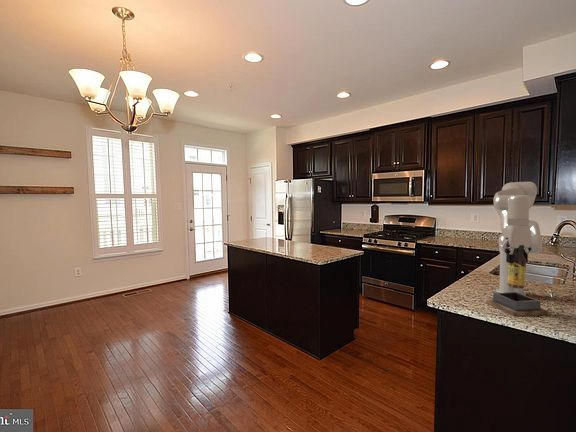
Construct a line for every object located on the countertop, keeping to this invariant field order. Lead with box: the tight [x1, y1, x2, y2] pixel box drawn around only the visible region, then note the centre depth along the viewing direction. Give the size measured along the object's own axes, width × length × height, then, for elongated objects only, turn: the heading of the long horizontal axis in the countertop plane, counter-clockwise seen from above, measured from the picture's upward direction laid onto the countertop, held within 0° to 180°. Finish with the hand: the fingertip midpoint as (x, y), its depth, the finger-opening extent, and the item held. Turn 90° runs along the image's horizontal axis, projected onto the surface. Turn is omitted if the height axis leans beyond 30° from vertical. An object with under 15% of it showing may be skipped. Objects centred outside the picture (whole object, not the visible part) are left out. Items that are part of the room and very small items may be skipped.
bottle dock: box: [486, 292, 549, 317], centre depth 130 cm, size 16×15×6 cm
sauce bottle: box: [507, 245, 527, 289], centre depth 129 cm, size 7×6×20 cm
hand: (516, 262), depth 129 cm, fingers closed on sauce bottle, 6 cm apart
